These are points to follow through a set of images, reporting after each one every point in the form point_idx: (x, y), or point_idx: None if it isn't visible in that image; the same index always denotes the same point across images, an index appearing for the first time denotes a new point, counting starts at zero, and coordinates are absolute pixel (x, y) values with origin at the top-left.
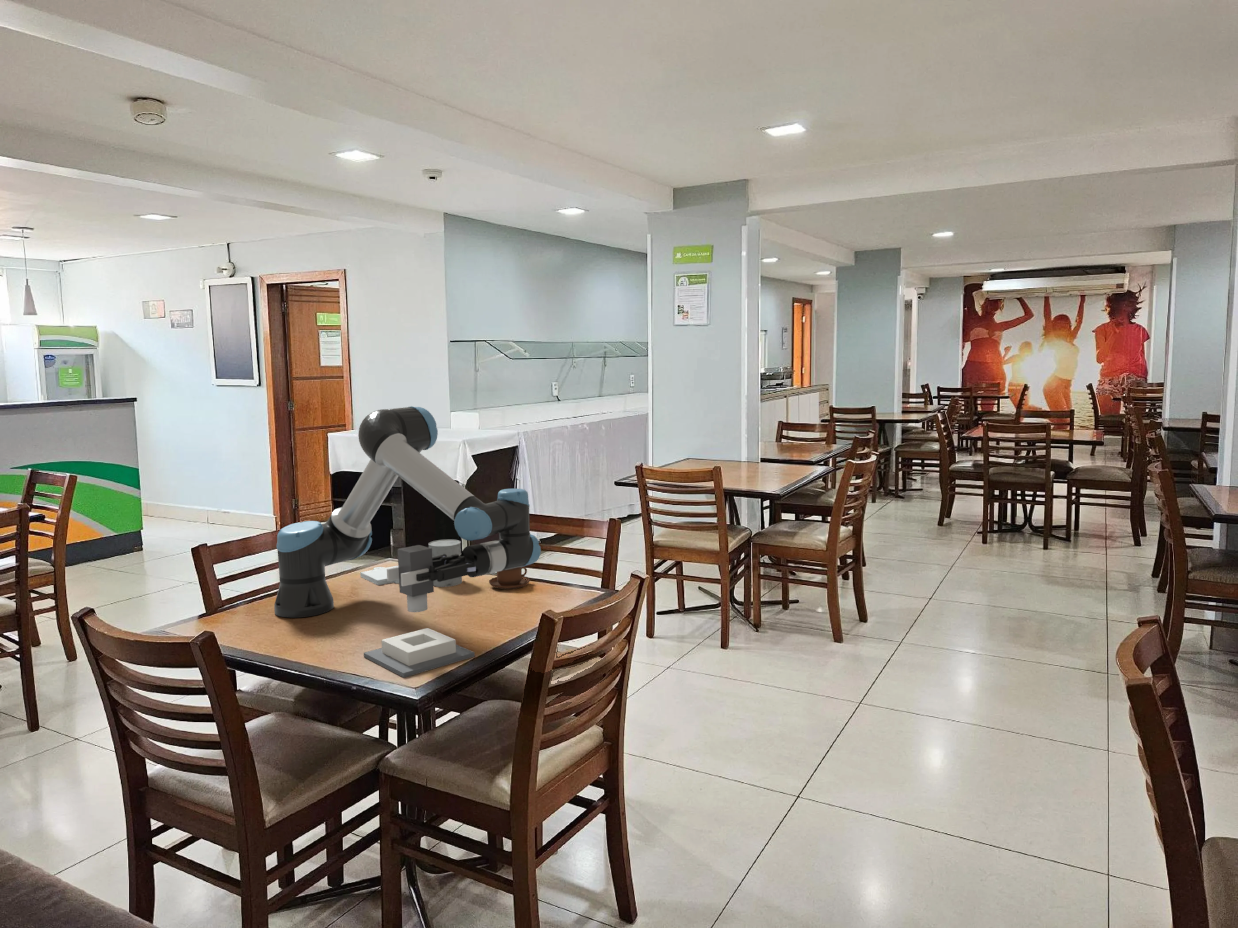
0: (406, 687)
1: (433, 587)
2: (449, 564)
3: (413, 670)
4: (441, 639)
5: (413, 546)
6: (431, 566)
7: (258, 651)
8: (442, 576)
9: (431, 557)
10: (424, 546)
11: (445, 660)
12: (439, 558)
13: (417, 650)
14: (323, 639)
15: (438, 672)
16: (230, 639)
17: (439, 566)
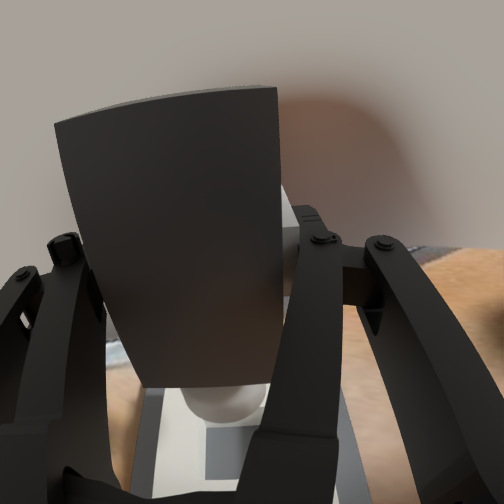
0: (110, 363)
1: (135, 370)
2: (30, 387)
3: (145, 395)
4: (186, 489)
5: (248, 87)
6: (63, 237)
7: (436, 263)
8: (27, 318)
9: (73, 194)
10: (168, 97)
11: (134, 470)
12: (464, 469)
13: (163, 403)
14: (471, 329)
15: (115, 437)
16: (489, 250)
17: (70, 310)
